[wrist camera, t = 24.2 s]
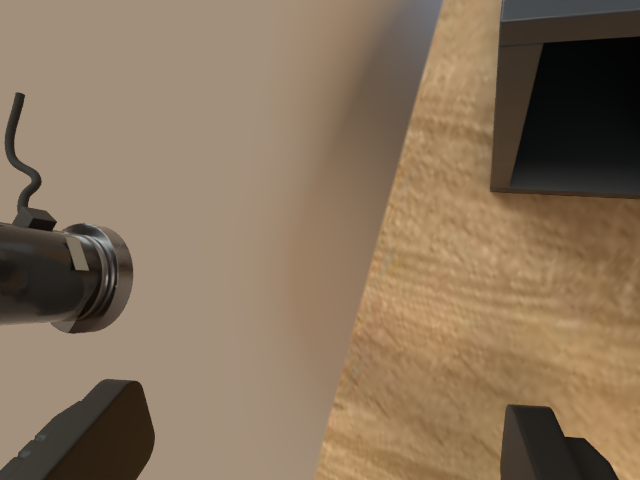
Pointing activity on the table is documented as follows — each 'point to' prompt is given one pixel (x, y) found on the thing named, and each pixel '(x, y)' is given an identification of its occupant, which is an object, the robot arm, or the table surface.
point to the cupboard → (568, 99)
